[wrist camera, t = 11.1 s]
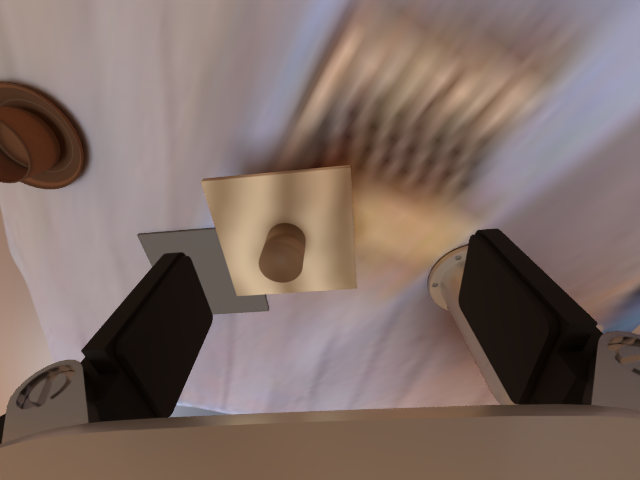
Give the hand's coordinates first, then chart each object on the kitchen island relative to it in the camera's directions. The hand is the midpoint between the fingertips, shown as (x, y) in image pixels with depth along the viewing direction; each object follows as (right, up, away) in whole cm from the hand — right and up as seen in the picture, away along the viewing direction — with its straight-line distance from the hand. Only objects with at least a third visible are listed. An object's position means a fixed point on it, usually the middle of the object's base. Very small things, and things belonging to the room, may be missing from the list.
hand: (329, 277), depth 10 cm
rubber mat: (-18, -4, +36) cm, 40 cm away
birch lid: (-4, +2, +21) cm, 21 cm away
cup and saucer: (-34, +14, +26) cm, 45 cm away
